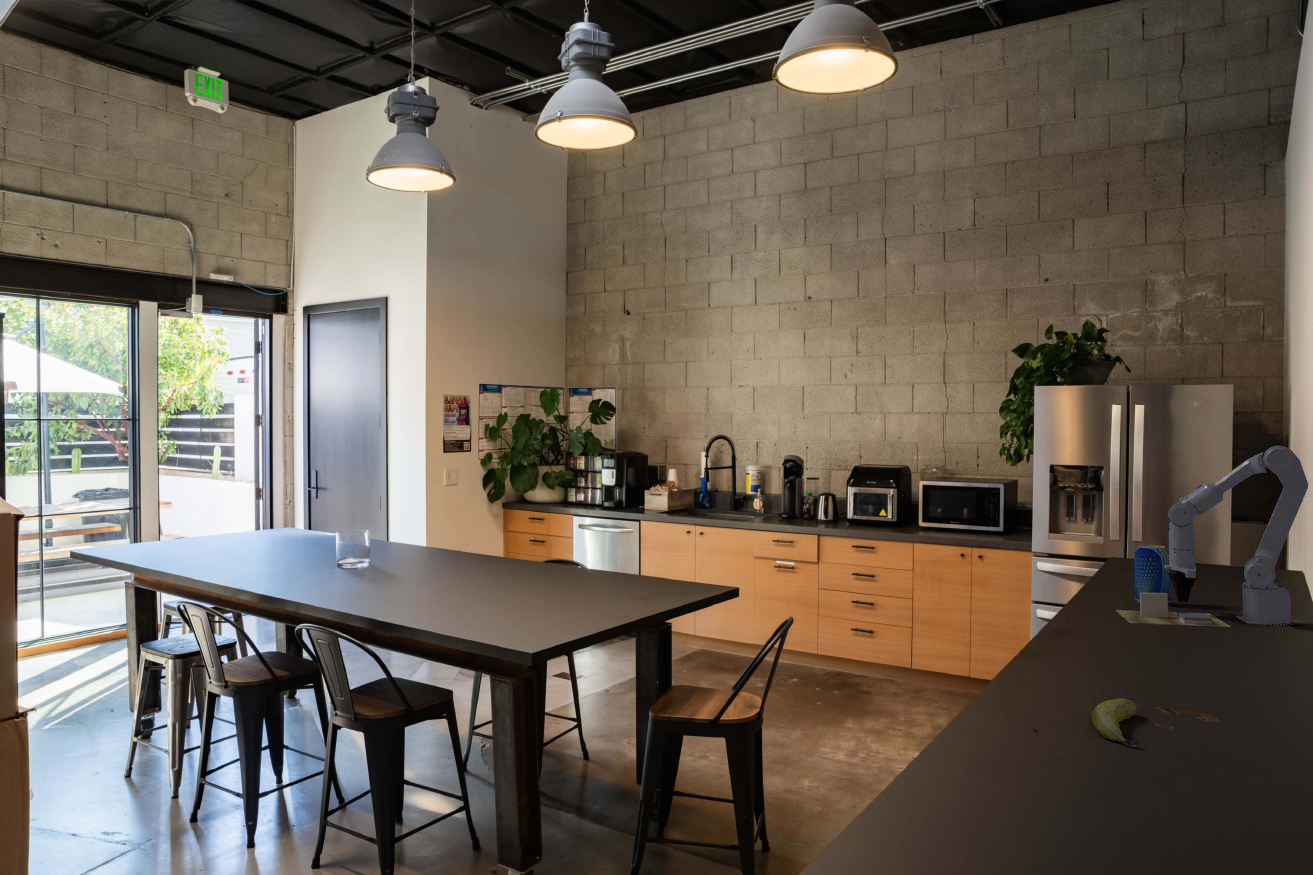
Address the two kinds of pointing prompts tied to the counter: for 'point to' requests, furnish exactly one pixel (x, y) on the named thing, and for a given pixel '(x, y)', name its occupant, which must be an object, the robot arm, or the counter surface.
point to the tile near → (1194, 618)
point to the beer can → (1151, 570)
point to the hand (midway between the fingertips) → (1182, 601)
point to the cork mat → (1165, 619)
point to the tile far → (1153, 604)
